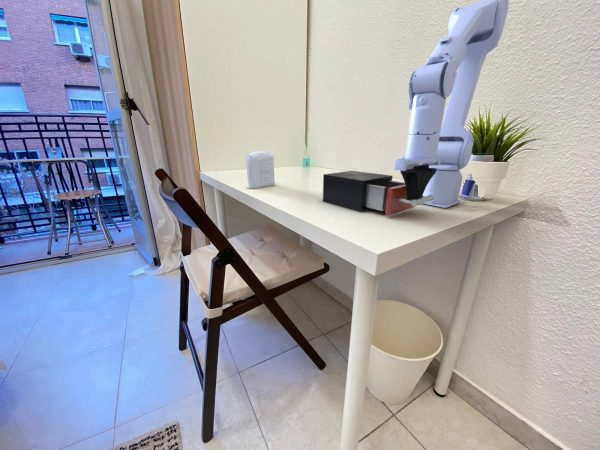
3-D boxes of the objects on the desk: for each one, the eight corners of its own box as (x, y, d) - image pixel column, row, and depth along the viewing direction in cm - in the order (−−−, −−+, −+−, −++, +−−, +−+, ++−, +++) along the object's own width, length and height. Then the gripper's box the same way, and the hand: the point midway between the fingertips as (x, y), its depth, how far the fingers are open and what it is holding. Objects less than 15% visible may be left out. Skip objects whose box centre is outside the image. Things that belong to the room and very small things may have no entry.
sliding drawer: (434, 211, 55) (439, 186, 53) (410, 220, 49) (414, 192, 47) (371, 197, 67) (373, 176, 65) (346, 203, 62) (347, 181, 60)
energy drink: (461, 195, 72) (471, 153, 68) (484, 198, 69) (495, 154, 64) (458, 199, 68) (468, 154, 64) (482, 202, 65) (494, 155, 61)
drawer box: (389, 204, 64) (392, 175, 62) (361, 212, 58) (363, 180, 55) (350, 195, 74) (352, 170, 72) (322, 201, 68) (323, 174, 65)
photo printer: (269, 183, 94) (267, 150, 90) (276, 185, 91) (275, 150, 87) (246, 187, 87) (243, 151, 83) (253, 189, 84) (250, 152, 80)
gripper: (422, 134, 55) (413, 193, 60) (384, 135, 47) (377, 203, 52) (456, 134, 50) (443, 199, 55) (419, 134, 42) (408, 210, 46)
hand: (413, 201), depth 53 cm, fingers closed, pressing on sliding drawer
